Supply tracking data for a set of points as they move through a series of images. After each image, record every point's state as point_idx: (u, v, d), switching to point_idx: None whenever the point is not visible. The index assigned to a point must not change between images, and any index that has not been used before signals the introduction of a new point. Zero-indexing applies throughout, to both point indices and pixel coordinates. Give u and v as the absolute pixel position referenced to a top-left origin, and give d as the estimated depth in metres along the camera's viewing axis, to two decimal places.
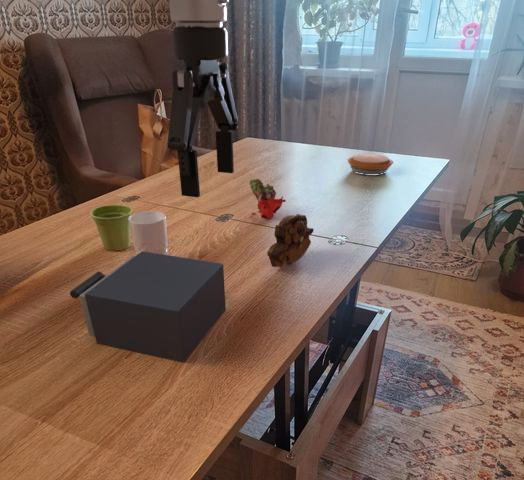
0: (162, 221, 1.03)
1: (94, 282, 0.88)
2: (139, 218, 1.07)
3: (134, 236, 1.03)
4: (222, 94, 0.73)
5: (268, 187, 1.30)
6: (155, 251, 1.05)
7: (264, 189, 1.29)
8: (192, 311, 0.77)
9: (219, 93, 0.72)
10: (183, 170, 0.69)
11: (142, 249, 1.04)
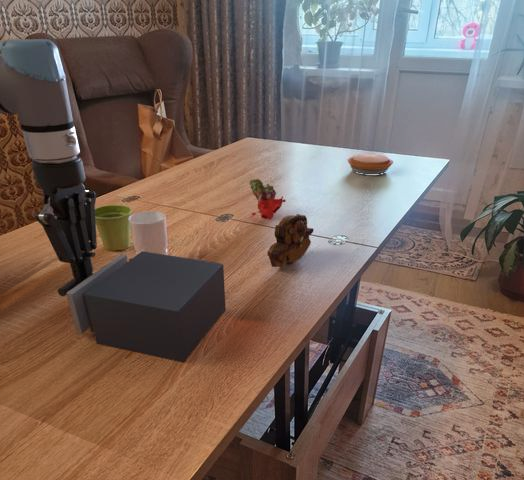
0: (162, 221, 1.03)
1: None
2: (139, 218, 1.07)
3: (134, 236, 1.03)
4: (82, 214, 0.80)
5: (268, 187, 1.30)
6: (155, 251, 1.05)
7: (264, 189, 1.29)
8: (192, 311, 0.77)
9: (79, 211, 0.80)
10: (76, 275, 0.85)
11: (142, 249, 1.04)
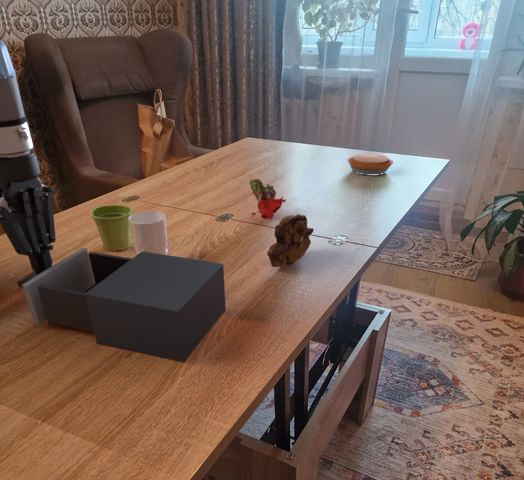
0: (162, 221, 1.03)
1: None
2: (139, 218, 1.07)
3: (134, 236, 1.03)
4: (38, 208, 0.83)
5: (268, 187, 1.30)
6: (155, 251, 1.05)
7: (264, 189, 1.29)
8: (192, 311, 0.77)
9: (35, 205, 0.82)
10: (34, 268, 0.87)
11: (142, 249, 1.04)
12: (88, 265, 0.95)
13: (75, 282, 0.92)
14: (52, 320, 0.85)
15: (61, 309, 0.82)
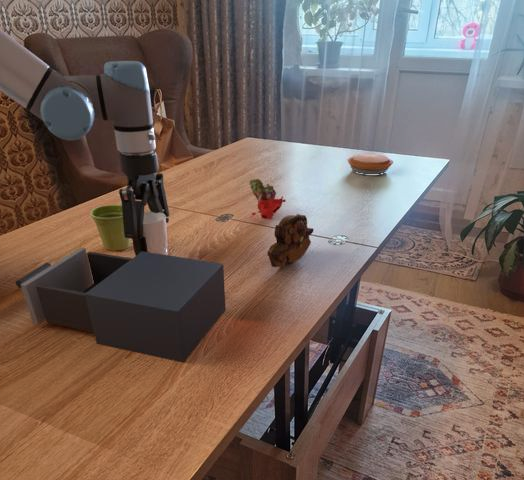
0: (162, 221, 1.03)
1: None
2: None
3: None
4: (156, 194, 1.02)
5: (268, 187, 1.30)
6: (155, 251, 1.05)
7: (264, 189, 1.29)
8: (192, 311, 0.77)
9: (154, 193, 1.02)
10: (136, 250, 1.02)
11: None
12: (87, 265, 0.95)
13: (74, 282, 0.92)
14: (50, 320, 0.85)
15: (59, 308, 0.82)
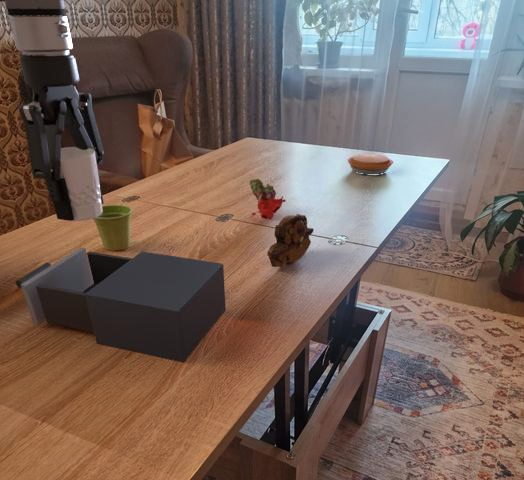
0: (89, 157, 0.75)
1: None
2: (61, 156, 0.79)
3: None
4: (80, 121, 0.75)
5: (268, 187, 1.30)
6: (81, 200, 0.77)
7: (264, 189, 1.29)
8: (192, 311, 0.77)
9: (76, 118, 0.74)
10: (53, 196, 0.75)
11: None
12: (87, 265, 0.95)
13: (74, 282, 0.92)
14: (50, 320, 0.85)
15: (59, 308, 0.82)
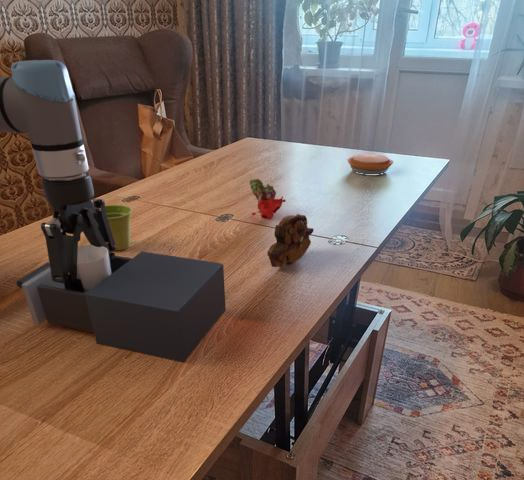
0: (103, 259, 0.82)
1: None
2: None
3: None
4: (94, 226, 0.82)
5: (268, 187, 1.30)
6: None
7: (264, 189, 1.29)
8: (192, 311, 0.77)
9: (91, 225, 0.82)
10: None
11: None
12: None
13: None
14: (51, 320, 0.85)
15: (60, 309, 0.82)
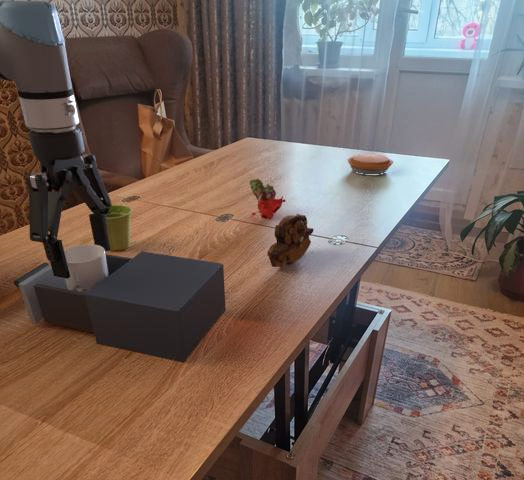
0: (99, 258, 0.83)
1: None
2: (74, 253, 0.87)
3: None
4: (86, 184, 0.79)
5: (268, 187, 1.30)
6: None
7: (264, 189, 1.29)
8: (192, 311, 0.77)
9: (82, 183, 0.78)
10: (50, 257, 0.77)
11: None
12: None
13: None
14: (48, 320, 0.85)
15: (57, 308, 0.83)
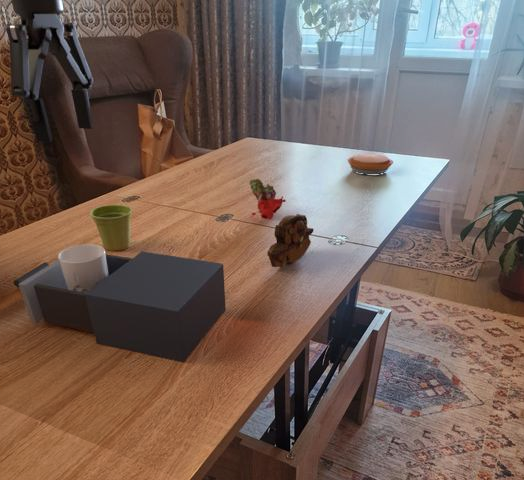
0: (99, 258, 0.83)
1: None
2: (74, 253, 0.87)
3: (65, 276, 0.83)
4: (66, 49, 0.82)
5: (268, 187, 1.30)
6: None
7: (264, 189, 1.29)
8: (192, 311, 0.77)
9: (62, 47, 0.81)
10: (32, 116, 0.80)
11: None
12: None
13: None
14: (48, 320, 0.85)
15: (57, 308, 0.83)
